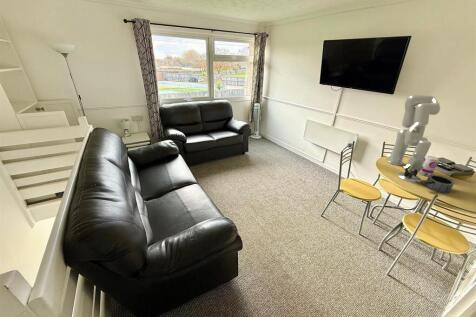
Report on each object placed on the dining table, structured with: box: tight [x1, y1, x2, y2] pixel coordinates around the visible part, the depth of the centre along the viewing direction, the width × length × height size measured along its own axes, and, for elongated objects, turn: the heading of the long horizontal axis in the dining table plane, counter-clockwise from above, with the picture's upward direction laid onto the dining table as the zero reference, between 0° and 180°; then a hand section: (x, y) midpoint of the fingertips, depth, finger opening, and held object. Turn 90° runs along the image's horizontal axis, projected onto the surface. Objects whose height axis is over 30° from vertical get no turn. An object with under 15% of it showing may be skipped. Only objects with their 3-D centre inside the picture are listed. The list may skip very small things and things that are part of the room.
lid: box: [397, 170, 422, 184], centre depth 165 cm, size 15×15×6 cm
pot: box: [421, 174, 455, 194], centre depth 152 cm, size 14×23×7 cm, turn 97°
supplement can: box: [418, 155, 440, 177], centre depth 168 cm, size 8×8×15 cm
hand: (409, 175), depth 165 cm, fingers open, 6 cm apart
